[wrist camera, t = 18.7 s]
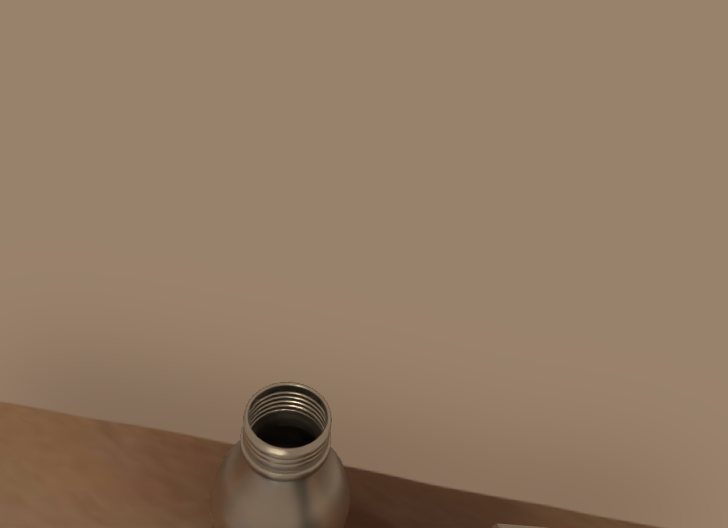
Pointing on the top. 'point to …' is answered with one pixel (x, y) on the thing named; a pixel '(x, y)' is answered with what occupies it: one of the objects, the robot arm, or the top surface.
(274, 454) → the plastic bottle
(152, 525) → the top surface
